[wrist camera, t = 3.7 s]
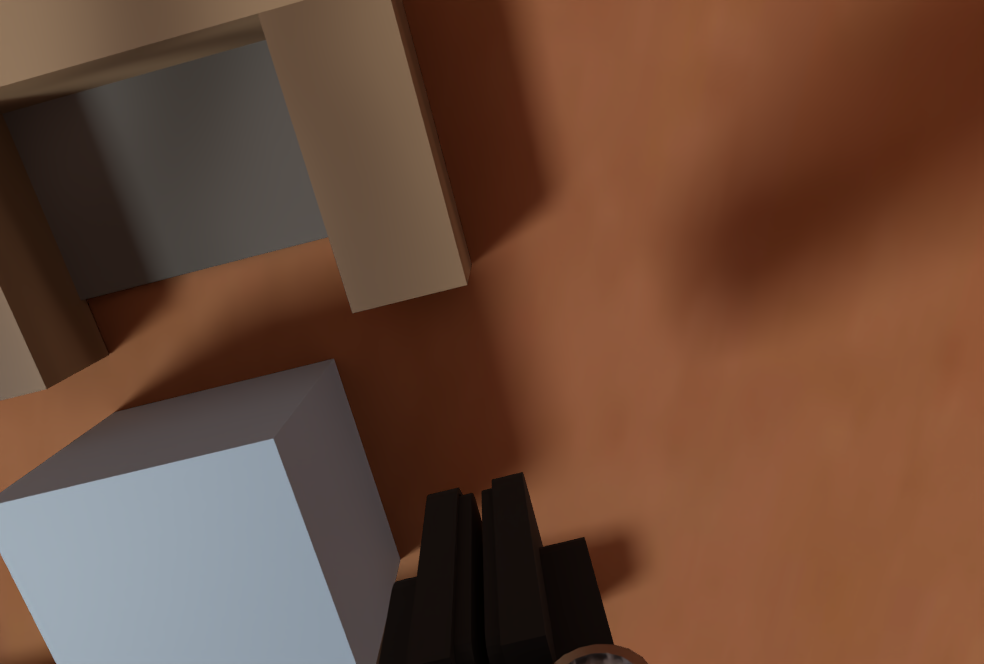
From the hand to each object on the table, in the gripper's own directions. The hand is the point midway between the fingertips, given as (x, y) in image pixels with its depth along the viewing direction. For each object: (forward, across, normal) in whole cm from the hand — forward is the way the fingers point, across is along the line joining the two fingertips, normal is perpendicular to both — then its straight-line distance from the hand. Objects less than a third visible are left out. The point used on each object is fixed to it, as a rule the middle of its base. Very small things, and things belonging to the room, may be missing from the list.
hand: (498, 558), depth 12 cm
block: (+7, +6, +1) cm, 9 cm away
